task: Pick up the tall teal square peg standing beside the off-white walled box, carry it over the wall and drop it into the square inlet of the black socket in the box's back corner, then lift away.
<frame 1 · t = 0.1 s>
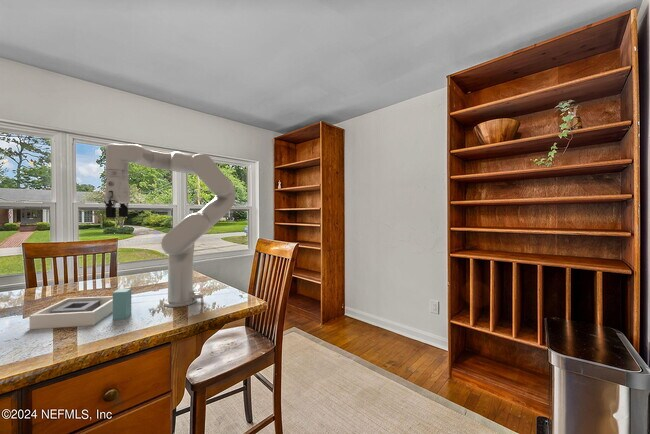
hand: (117, 217, 111), 36 cm above the worktop, tool pointing down, fingers open, 9 cm apart
walled box: (79, 316, 100), on the worktop
peg: (122, 317, 100), on the worktop
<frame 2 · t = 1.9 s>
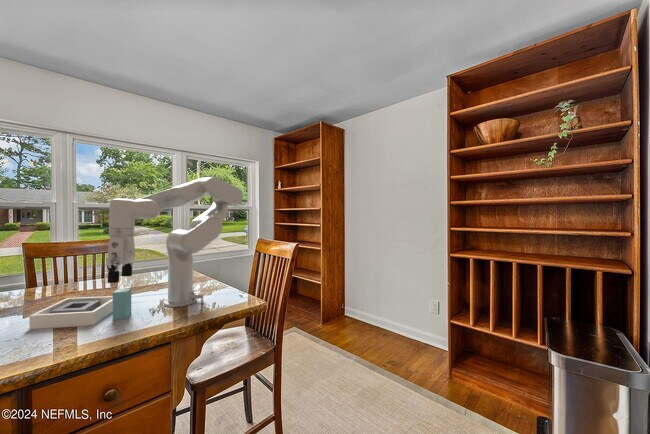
hand: (120, 279, 100), 14 cm above the worktop, tool pointing down, fingers open, 9 cm apart
nothing on the worktop moved.
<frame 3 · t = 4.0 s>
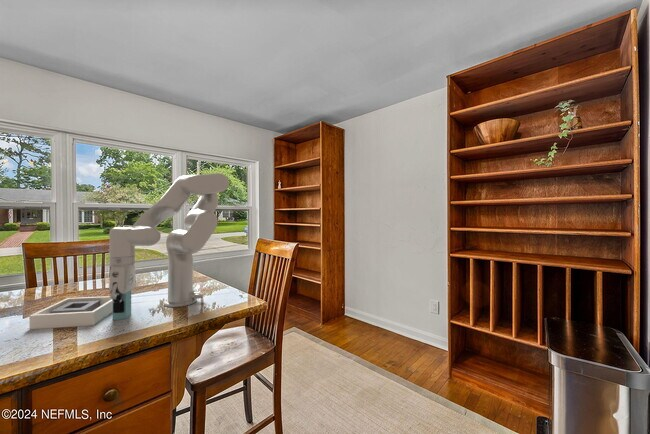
hand: (122, 309, 100), 3 cm above the worktop, tool pointing down, fingers closed on peg, 4 cm apart
peg: (122, 317, 100), on the worktop, touching gripper
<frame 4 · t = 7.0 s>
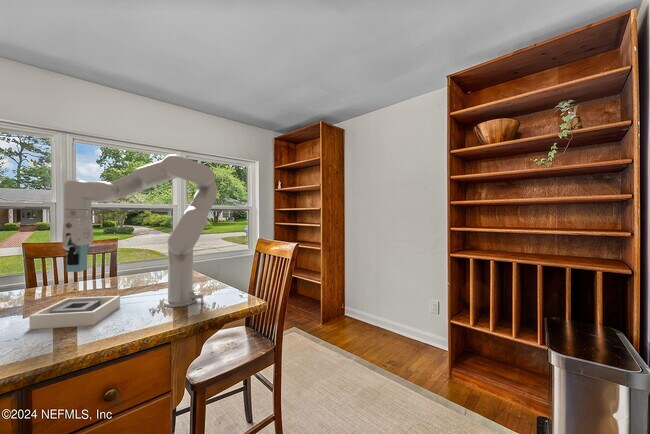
hand: (77, 263, 101), 20 cm above the worktop, tool pointing down, fingers closed on peg, 4 cm apart
peg: (77, 270, 101), point 17 cm above the worktop, touching gripper
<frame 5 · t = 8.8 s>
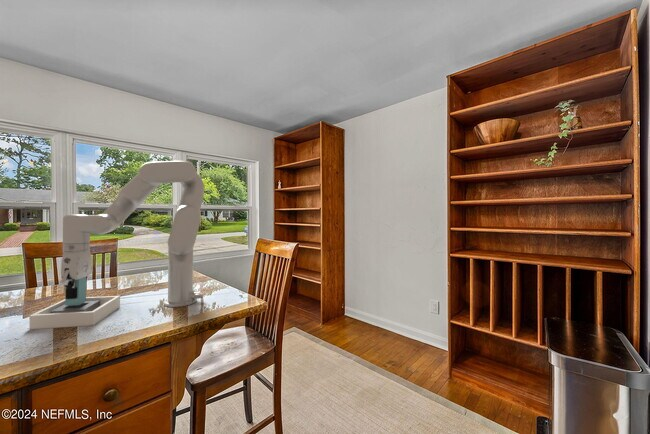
hand: (76, 296, 101), 7 cm above the worktop, tool pointing down, fingers closed on peg, 4 cm apart
peg: (75, 303, 101), point 4 cm above the worktop, touching gripper
when the fingers open (5 cm above the worktop, at t = 10.2 s): peg drops 1 cm, resting on walled box.
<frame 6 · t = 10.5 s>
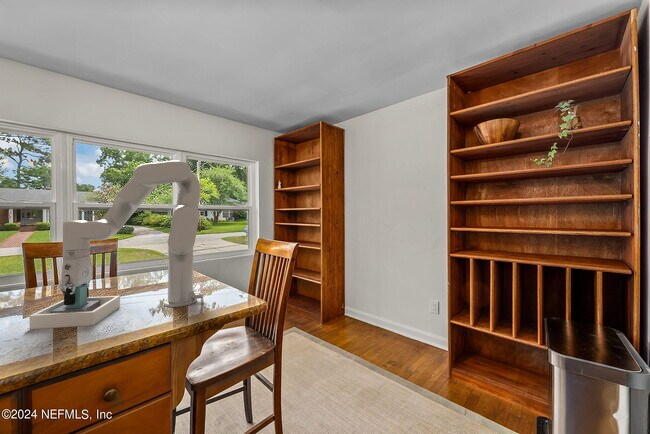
hand: (76, 300, 101), 5 cm above the worktop, tool pointing down, fingers open, 7 cm apart
peg: (76, 313, 101), point 1 cm above the worktop, touching walled box
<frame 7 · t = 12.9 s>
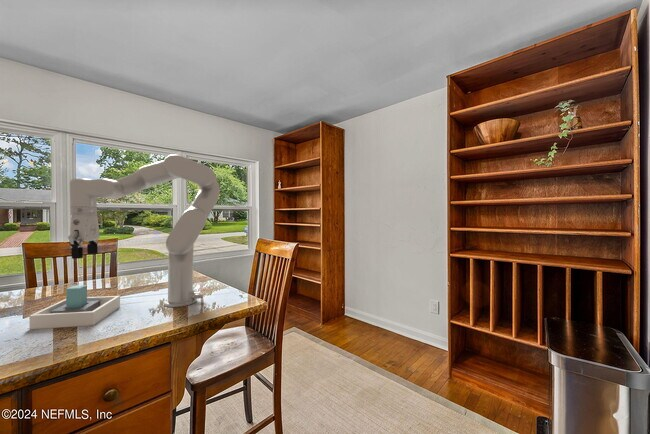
hand: (85, 256, 104), 22 cm above the worktop, tool pointing down, fingers open, 9 cm apart
nothing on the worktop moved.
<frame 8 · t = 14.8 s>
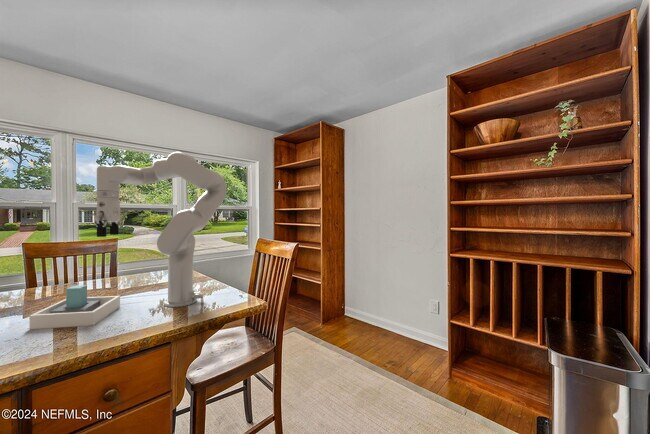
hand: (108, 235, 116), 28 cm above the worktop, tool pointing down, fingers open, 9 cm apart
nothing on the worktop moved.
at the end: peg 0.0 cm from the target spot on the walled box, point 0.6 cm above the walled box's base; peg tilted 0°; the gripper is holding nothing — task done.
